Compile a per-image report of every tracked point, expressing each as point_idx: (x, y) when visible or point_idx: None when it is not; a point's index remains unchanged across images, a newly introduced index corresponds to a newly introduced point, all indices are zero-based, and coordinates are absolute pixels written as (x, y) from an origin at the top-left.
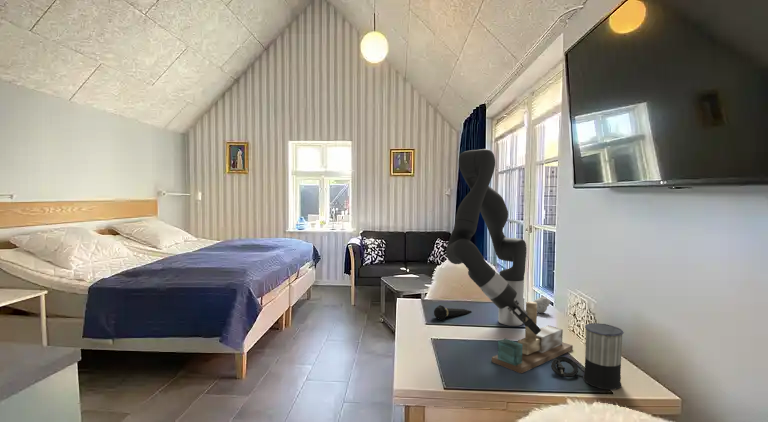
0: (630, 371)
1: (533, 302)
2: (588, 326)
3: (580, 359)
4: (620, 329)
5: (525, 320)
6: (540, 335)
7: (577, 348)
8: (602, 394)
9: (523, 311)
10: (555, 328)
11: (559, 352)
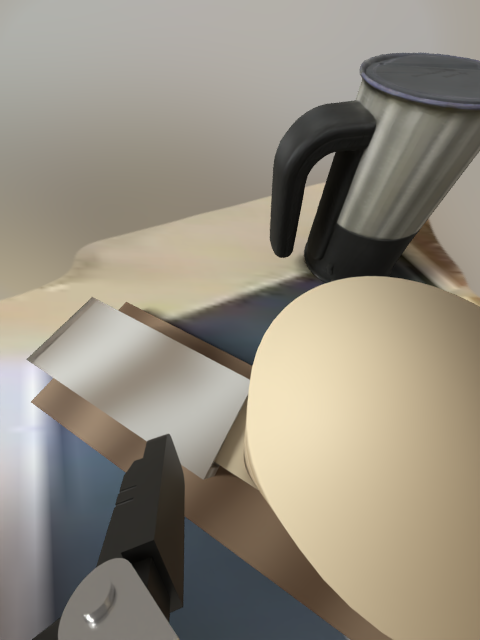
0: (244, 213)
1: (317, 355)
2: (466, 97)
3: (211, 294)
4: (390, 55)
5: (178, 521)
6: (230, 394)
7: (115, 298)
8: (416, 262)
9: (151, 600)
10: (82, 325)
11: (202, 342)
